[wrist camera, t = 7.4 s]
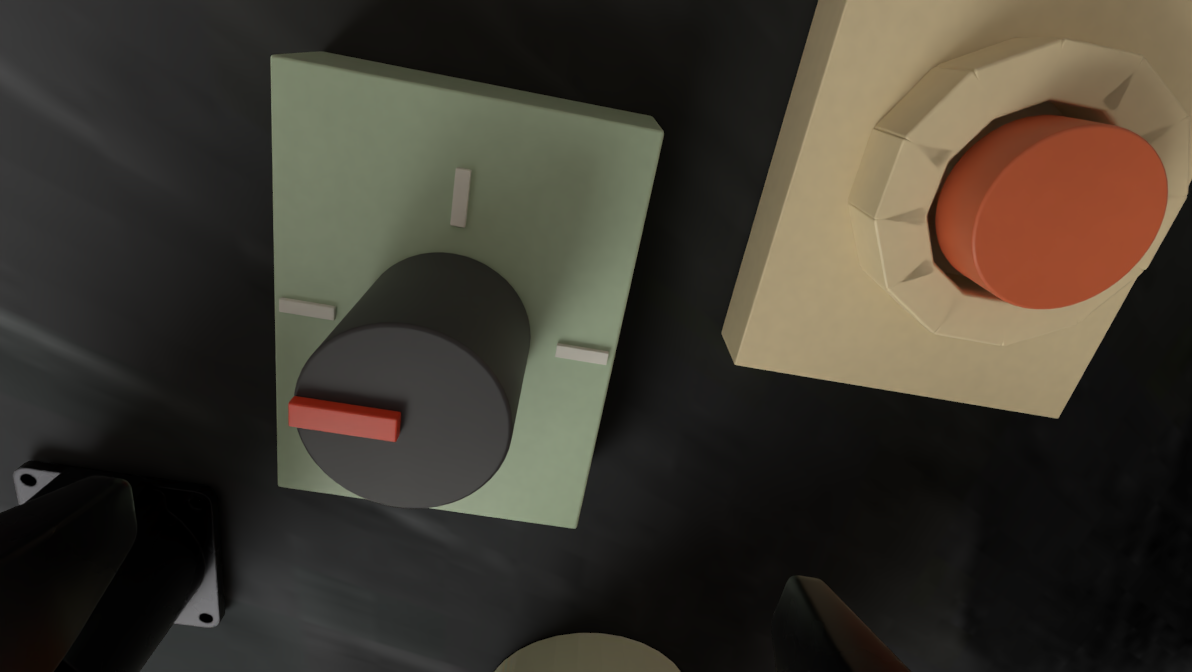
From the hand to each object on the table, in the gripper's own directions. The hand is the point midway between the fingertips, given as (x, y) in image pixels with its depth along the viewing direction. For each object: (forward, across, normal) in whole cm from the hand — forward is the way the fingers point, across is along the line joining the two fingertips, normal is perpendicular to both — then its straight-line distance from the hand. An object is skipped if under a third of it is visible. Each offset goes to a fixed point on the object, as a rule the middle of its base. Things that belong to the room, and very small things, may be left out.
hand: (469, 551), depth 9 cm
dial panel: (+12, +2, +1) cm, 12 cm away
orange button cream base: (+12, -11, -5) cm, 17 cm away
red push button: (+9, -11, -5) cm, 15 cm away
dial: (+9, +2, +1) cm, 9 cm away
